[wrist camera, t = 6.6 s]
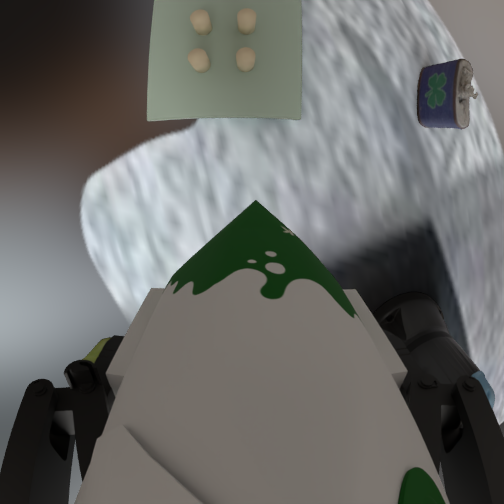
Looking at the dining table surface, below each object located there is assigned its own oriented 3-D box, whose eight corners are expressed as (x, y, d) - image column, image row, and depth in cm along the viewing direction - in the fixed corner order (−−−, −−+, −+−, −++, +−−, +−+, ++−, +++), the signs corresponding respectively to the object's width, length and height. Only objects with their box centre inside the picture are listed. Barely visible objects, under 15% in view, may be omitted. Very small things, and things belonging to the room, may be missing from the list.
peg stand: (298, -6, 28) (306, -25, 22) (298, 119, 34) (308, 116, 29) (158, -4, 27) (146, -21, 22) (150, 121, 34) (135, 119, 28)
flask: (430, 129, 34) (479, 132, 24) (413, 123, 34) (461, 124, 24) (435, 70, 31) (482, 60, 21) (418, 63, 31) (464, 49, 21)
